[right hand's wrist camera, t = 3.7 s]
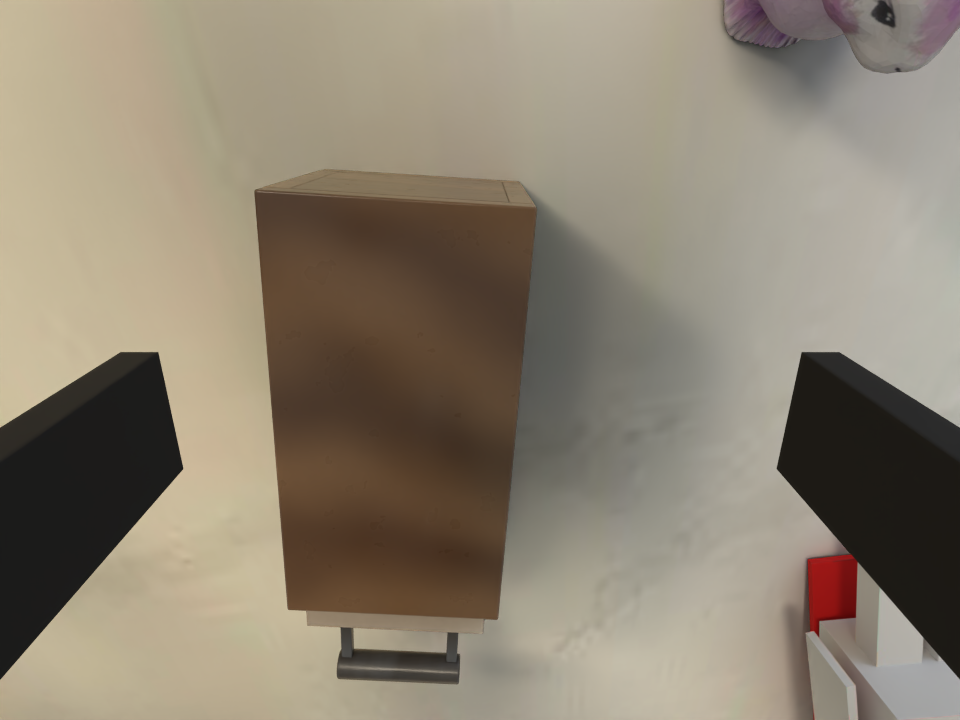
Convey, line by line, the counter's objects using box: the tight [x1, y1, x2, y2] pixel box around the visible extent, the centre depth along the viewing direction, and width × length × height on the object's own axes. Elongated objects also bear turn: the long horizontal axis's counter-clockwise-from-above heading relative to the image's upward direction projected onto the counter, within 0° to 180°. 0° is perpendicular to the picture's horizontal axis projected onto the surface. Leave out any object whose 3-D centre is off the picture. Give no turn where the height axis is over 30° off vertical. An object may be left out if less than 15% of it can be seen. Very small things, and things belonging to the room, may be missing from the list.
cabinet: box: [255, 169, 537, 620], centre depth 30 cm, size 20×10×10 cm, turn 177°
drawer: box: [306, 611, 484, 684], centre depth 32 cm, size 24×9×8 cm, turn 176°
